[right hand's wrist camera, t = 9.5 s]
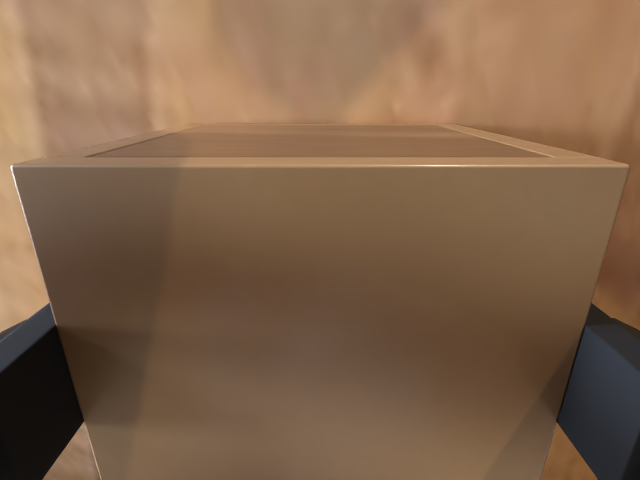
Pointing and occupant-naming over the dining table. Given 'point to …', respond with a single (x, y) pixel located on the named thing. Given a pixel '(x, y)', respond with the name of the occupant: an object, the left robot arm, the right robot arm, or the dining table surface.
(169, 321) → the cabinet
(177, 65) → the dining table surface
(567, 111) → the dining table surface
